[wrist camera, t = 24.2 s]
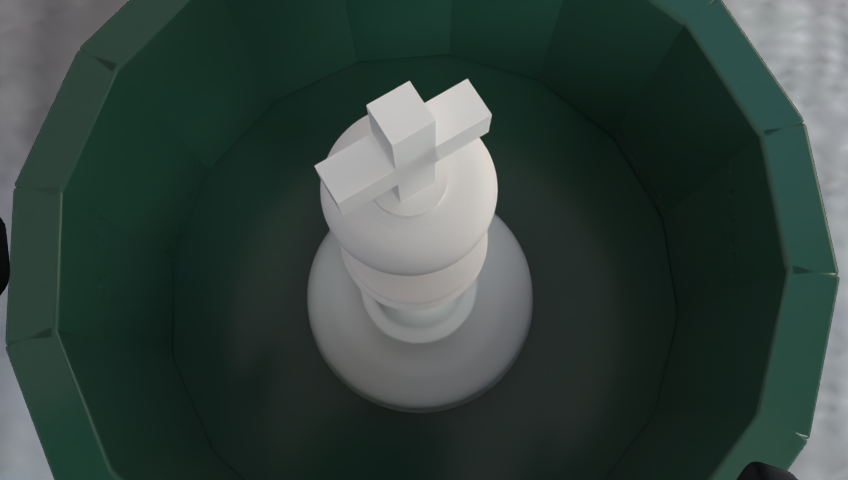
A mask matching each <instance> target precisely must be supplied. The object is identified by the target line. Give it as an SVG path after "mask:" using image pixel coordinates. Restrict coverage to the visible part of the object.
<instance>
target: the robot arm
mask: <svg viewBox="0 0 848 480" xmlns="http://www.w3.org/2000/svg"><path fill="white" fill-rule="evenodd" d="M9 278H10V261H9V252H8V243H7V234H6V227H5V224H4V222H3V220H2V219H1V218H0V295H1V294H2V292H3V291H4V290H5V288H6V286H7V284H8V281H9ZM736 480H798V479H797V478H796V477H795V476H794V475H793V474H792V473H790V472H788V471H786V470H784V469H780V468H777V467H774V466H771V465H768V464H765V463H762V462H758V461H756V462H751V463H749V464H748V465H747V466H746V467H745V468H744V469H743V470H742V472H741V473H740V475H739V476H738V478H737V479H736Z"/></svg>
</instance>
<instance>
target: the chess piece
mask: <svg viewBox="0 0 848 480" xmlns="http://www.w3.org/2000/svg"><path fill="white" fill-rule="evenodd" d="M366 106H367V111H368V115H366V116H364V117H363V118H361V119H360V120H358V121H357V122H355V123H354V124H353V125H351V126H350V127H349V128H348V129H347V130H346V131H345V132H344V133H343V134H342V135H341V136H340V137H339V139H338V140H337V141H336V143H335V144H334V146H333V147H332V149H331V151H330V153H329V155H328V157H327V159H325V160H324V161H322V162H320V163H318V164H317V165H315V168H316V170H317V173H318V175H319V177H320V179H321V185H320V196H321V205H322V209H323V213H324V217H325V219H326V222H327V224H328V226H329V228H330V230H329V232H328V233H327V235H326V236H325V238H324V239H323V241H322V243H321V244H320V246H319V248H318V250H317V253H316V255H315V257H314V260H313V263H312V266H311V270H310V274H309V279H308V287H307V308H308V316H309V322H310V327H311V331H312V334H313V337H314V340H315V343H316V345H317V347H318V349H319V352H320V353H321V355H322V357H323V359H324V360H325V362H326V363H327V365H328V366H329V368H330V369H331V370H332V372H333V373H334V374H335V375H336V376H337V377H338V378H339V379H340V380H341V381H342V382H343V383H344V384H345V385H346V386H347V387H348V388H350V389H351V390H352V391H354V392H355V393H356V394H358V395H359V396H361V397H363V398H365V399H366V400H368V401H370V402H372V403H375V404H377V405H379V406H382V407H385V408H388V409H392V410H396V411H402V412H409V413H431V412H438V411H444V410H448V409H452V408H455V407H458V406H461V405H463V404H465V403H468V402H470V401H472V400H474V399H476V398H477V397H479V396H481V395H482V394H484V393H485V392H486V391H488V390H489V389H490V388H492V387H493V386H494V385H495V384H496V383H497V382H498V381H500V380H501V379H502V377H503V376H504V375H505V374H506V373H507V372H508V371H509V369H510V368H511V367H512V365H513V364H514V362H515V361H516V359H517V358H518V356H519V354H520V352H521V350H522V348H523V346H524V344H525V341H526V338H527V335H528V332H529V329H530V324H531V319H532V311H533V289H532V280H531V275H530V270H529V266H528V263H527V260H526V257H525V255H524V253H523V250H522V248H521V246H520V244H519V242H518V241H517V239H516V237H515V236H514V234H513V233H512V232H511V230H510V229H509V228H508V226H507V225H506V224H505V223H504V222H503V221H502V220H501V219H500V218H499V217H498V216H497V215H496V214H495V213H494V212H495V208H496V202H497V192H498V187H497V177H496V171H495V167H494V164H493V161H492V159H491V156H490V154H489V152H488V150H487V148H486V147H485V145H484V143H483V142H482V141H481V139H480V138H479V137H481V136H482V135H484V134H486V133H488V132H489V127H490V122H491V116H492V114H491V112H490V111H489V109H488V108H487V107H486V105H485V104H484V102H483V101H482V99H481V98H480V96H479V95H478V93H477V92H476V90H475V89H474V87H473V86H472V85H471V83H470V82H469V80H468V79H466V80H464V81H462V82H461V83H459V84H457V85H455V86H454V87H452V88H450V89H448V90H447V91H445V92H443V93H441V94H440V95H438V96H436V97H434V98H433V99H431V100H429V101H427V102H425V103H424V102H423V100H422V99H421V97H420V96H419V94H418V93H417V91H416V90H415V88H414V87H413V85H412V84H411V82H410V81H408V82H406V83H405V84H403V85H401V86H399V87H397V88H396V89H394V90H392V91H390V92H389V93H387V94H385V95H383V96H382V97H380V98H378V99H376V100H374V101H373V102H371V103H369V104H367V105H366Z"/></svg>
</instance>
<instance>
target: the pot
mask: <svg viewBox="0 0 848 480" xmlns="http://www.w3.org/2000/svg"><path fill="white" fill-rule="evenodd" d="M80 49H81V50H80V51H78V52H77V54H76V56H75V58H74V60H73V62H72V64H71V67H70V69H69V71H68V73H67V75H66V77H65V79H64V81H63V83H62V86H61V88H60V90H59V92H58V94H57V96H56V98H55V100H54V103H53V105H52V107H51V109H50V111H49V113H48V115H47V117H46V119H45V122H44V124H43V126H42V128H41V130H40V132H39V134H38V136H37V138H36V141H35V143H34V145H33V147H32V149H31V151H30V153H29V155H28V157H27V160H26V162H25V164H24V166H23V168H22V170H21V172H20V174H19V176H18V179H17V181H16V183H15V186H16V187H17V188H15V189H14V194H13V212H12V231H11V249H10V278H9V286H8V305H7V323H6V344H7V345H8V346H7V347H6V351H7V353H8V356H9V359H10V361H11V364H12V367H13V370H14V372H15V375H16V378H17V380H18V383H19V386H20V388H21V391H22V394H23V396H24V399H25V402H26V404H27V407H28V410H29V413H30V415H31V418H32V421H33V423H34V426H35V429H36V431H37V434H38V437H39V439H40V442H41V445H42V447H43V450H44V453H45V456H46V458H47V461H48V464H49V466H50V469H51V472H52V474H53V477H54V480H736V479H737V478H738V476H739V475H740V473H741V472H742V470H743V469H744V468H745V467H746V466H747V465H748V464H749V463H751V462H756V461H758V462H762V463H765V464H768V465H771V466H774V467H777V468H780V469H784V470H786V471H787V470H788V469H789V468H790V466H791V465H792V463H793V462H794V460H795V459H796V458H797V456H798V455H799V453H800V452H801V450H802V449H803V448H804V446H805V445H806V443H807V440H806V439H808V438H809V436H810V432H811V427H812V422H813V416H814V411H815V406H816V401H817V395H818V390H819V385H820V380H821V374H822V369H823V364H824V359H825V353H826V348H827V343H828V338H829V332H830V327H831V322H832V317H833V311H834V306H835V301H836V295H837V290H838V285H839V277H838V276H837V275H838V267H837V263H836V258H835V254H834V249H833V245H832V240H831V236H830V231H829V227H828V222H827V218H826V213H825V209H824V204H823V200H822V195H821V191H820V186H819V182H818V177H817V173H816V168H815V164H814V159H813V155H812V150H811V146H810V141H809V137H808V132H807V128H806V126H805V124H802V123H803V121H804V120H803V118H802V116H801V115H800V113H799V112H798V110H797V109H796V107H795V106H794V105H793V103H792V102H791V100H790V99H789V97H788V96H787V94H786V93H785V91H784V90H783V89H782V87H781V86H780V84H779V83H778V81H777V80H776V78H775V77H774V75H773V74H772V73H771V71H770V70H769V68H768V67H767V65H766V64H765V62H764V61H763V60H762V58H761V57H760V55H759V54H758V52H757V51H756V49H755V48H754V46H753V45H752V44H751V42H750V41H749V39H748V38H747V36H746V35H745V33H744V32H743V31H742V29H741V28H740V26H739V25H738V23H737V22H736V20H735V19H734V17H733V16H732V15H731V13H730V12H729V10H728V9H727V7H726V6H725V4H724V3H723V1H721V0H129V1H128V2H127V3H126V4H125V5H124V6H123V7H122V8H121V9H120V10H119V11H118V12H117V13H116V14H115V15H114V16H112V17H111V18H110V19H109V20H108V21H107V22H106V23H105V24H104V25H103V26H102V27H101V28H100V29H99V30H98V31H97V32H96V33H95V34H94V35H93V36H92V37H91V38H89V39H88V40H87V41H86V42H85V43H84V44H83V45H82V46H81V48H80ZM466 79H468V80H469V82H470V83H471V85H472V86H473V87H474V89H475V90H476V92H477V93H478V95H479V96H480V98H481V99H482V101H483V102H484V104H485V105H486V107H487V108H488V109H489V111H490V112H491V114H492V116H491V122H490V127H489V132H488V133H486V134H484V135H482V136H481V137H479V138H480V139H481V141H482V142H483V143H484V145H485V147H486V148H487V150H488V152H489V154H490V156H491V159H492V161H493V164H494V167H495V171H496V177H497V187H498V192H497V202H496V208H495V212H494V213H495V214H496V215H497V216H498V217H499V218H500V219H501V220H502V221H503V222H504V223H505V224H506V225H507V226H508V228H509V229H510V230H511V232H512V233H513V234H514V236H515V237H516V239H517V241H518V242H519V244H520V246H521V248H522V250H523V253H524V255H525V257H526V260H527V263H528V266H529V270H530V275H531V280H532V289H533V311H532V319H531V324H530V329H529V332H528V335H527V338H526V341H525V344H524V346H523V348H522V350H521V352H520V354H519V356H518V358H517V359H516V361H515V362H514V364H513V365H512V367H511V368H510V369H509V371H508V372H507V373H506V374H505V375H504V376H503V377H502V379H501V380H500V381H498V382H497V383H496V384H495V385H494V386H493V387H492V388H490V389H489V390H488V391H486V392H485V393H484V394H482V395H481V396H479V397H477V398H476V399H474V400H472V401H470V402H468V403H465V404H463V405H461V406H458V407H455V408H452V409H448V410H444V411H438V412H431V413H409V412H402V411H396V410H392V409H388V408H385V407H382V406H379V405H377V404H375V403H372V402H370V401H368V400H366V399H365V398H363V397H361V396H359V395H358V394H356V393H355V392H354V391H352V390H351V389H350V388H348V387H347V386H346V385H345V384H344V383H343V382H342V381H341V380H340V379H339V378H338V377H337V376H336V375H335V374H334V373H333V372H332V370H331V369H330V368H329V366H328V365H327V363H326V362H325V360H324V359H323V357H322V355H321V353H320V352H319V349H318V347H317V345H316V343H315V340H314V337H313V334H312V331H311V327H310V322H309V316H308V308H307V287H308V279H309V274H310V270H311V266H312V263H313V260H314V257H315V255H316V253H317V250H318V248H319V246H320V244H321V243H322V241H323V239H324V238H325V236H326V235H327V233H328V232H329V230H330V228H329V226H328V224H327V222H326V219H325V217H324V213H323V209H322V205H321V196H320V185H321V179H320V177H319V175H318V173H317V170H316V168H315V165H317V164H318V163H320V162H322V161H324V160H325V159H327V157H328V155H329V153H330V151H331V149H332V147H333V146H334V144H335V143H336V141H337V140H338V139H339V137H340V136H341V135H342V134H343V133H344V132H345V131H346V130H347V129H348V128H349V127H350V126H351V125H353V124H354V123H355V122H357V121H358V120H360V119H361V118H363V117H364V116H366V115H368V111H367V106H366V105H367V104H369V103H371V102H373V101H374V100H376V99H378V98H380V97H382V96H383V95H385V94H387V93H389V92H390V91H392V90H394V89H396V88H397V87H399V86H401V85H403V84H405V83H406V82H408V81H410V82H411V84H412V85H413V87H414V88H415V90H416V91H417V93H418V94H419V96H420V97H421V99H422V100H423V102H424V103H425V102H427V101H429V100H431V99H433V98H434V97H436V96H438V95H440V94H441V93H443V92H445V91H447V90H448V89H450V88H452V87H454V86H455V85H457V84H459V83H461V82H462V81H464V80H466Z"/></svg>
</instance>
